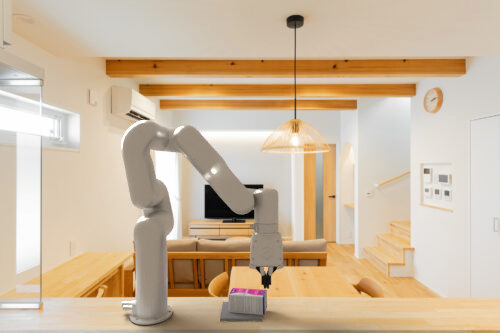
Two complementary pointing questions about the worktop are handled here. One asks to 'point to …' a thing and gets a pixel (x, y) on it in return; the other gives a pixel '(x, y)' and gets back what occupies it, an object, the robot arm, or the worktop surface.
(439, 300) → the worktop surface
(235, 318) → the felt pad
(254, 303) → the supplement box
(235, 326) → the worktop surface
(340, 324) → the worktop surface
